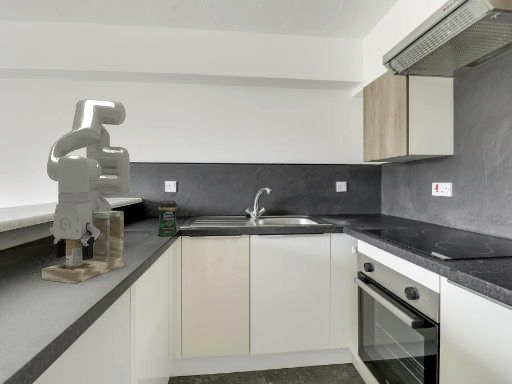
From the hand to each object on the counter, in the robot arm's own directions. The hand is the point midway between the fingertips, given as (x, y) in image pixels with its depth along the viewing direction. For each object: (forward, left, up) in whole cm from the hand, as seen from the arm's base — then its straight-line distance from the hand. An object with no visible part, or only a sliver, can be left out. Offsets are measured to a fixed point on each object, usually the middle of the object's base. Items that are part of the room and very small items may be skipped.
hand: (74, 258), depth 84 cm
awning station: (-5, 0, -5) cm, 7 cm away
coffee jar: (-69, -14, -6) cm, 71 cm away
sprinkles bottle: (0, 0, -6) cm, 6 cm away
